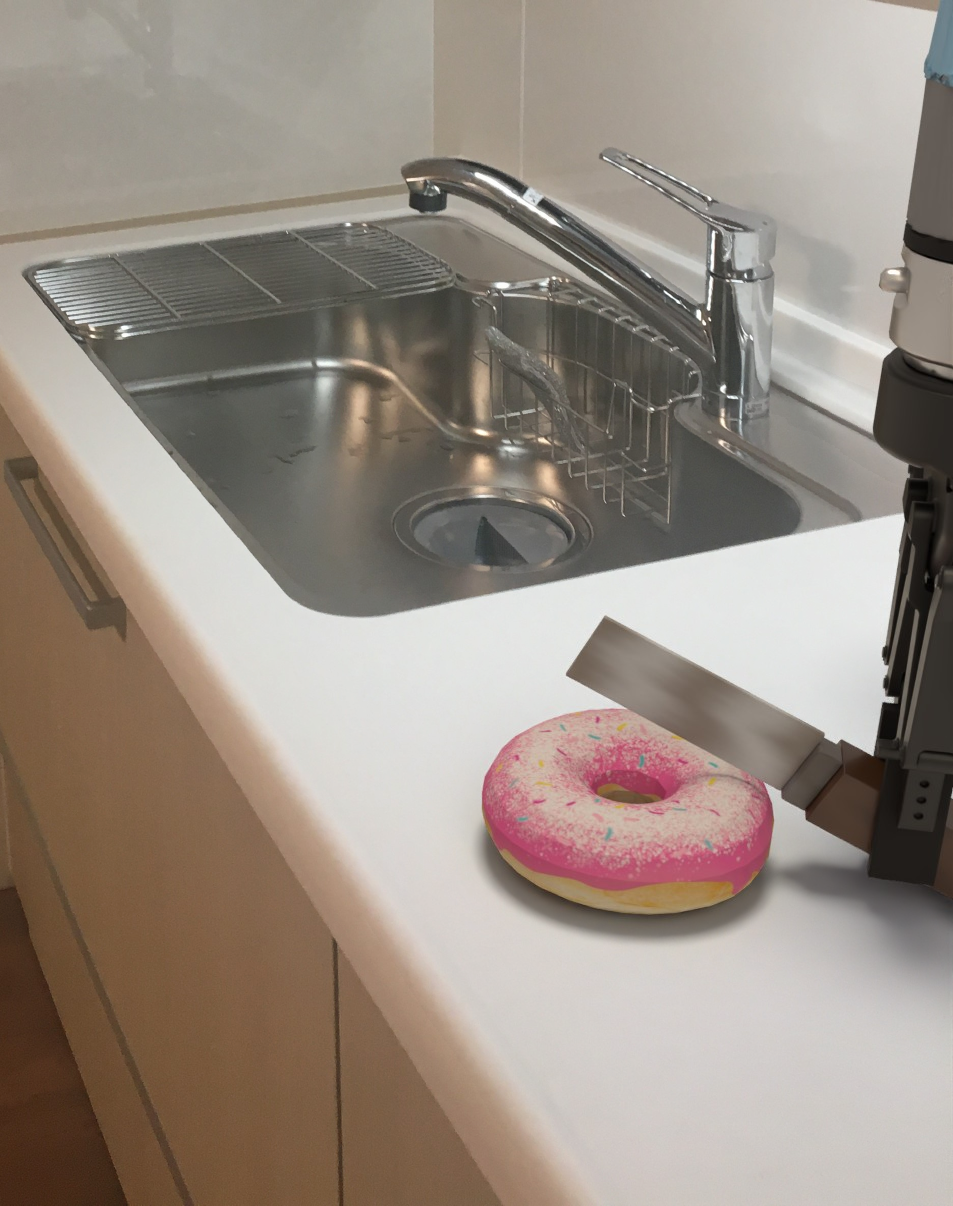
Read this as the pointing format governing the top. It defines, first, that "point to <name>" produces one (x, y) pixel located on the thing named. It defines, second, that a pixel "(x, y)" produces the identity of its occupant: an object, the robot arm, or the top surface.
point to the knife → (745, 734)
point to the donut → (625, 814)
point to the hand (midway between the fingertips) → (896, 852)
